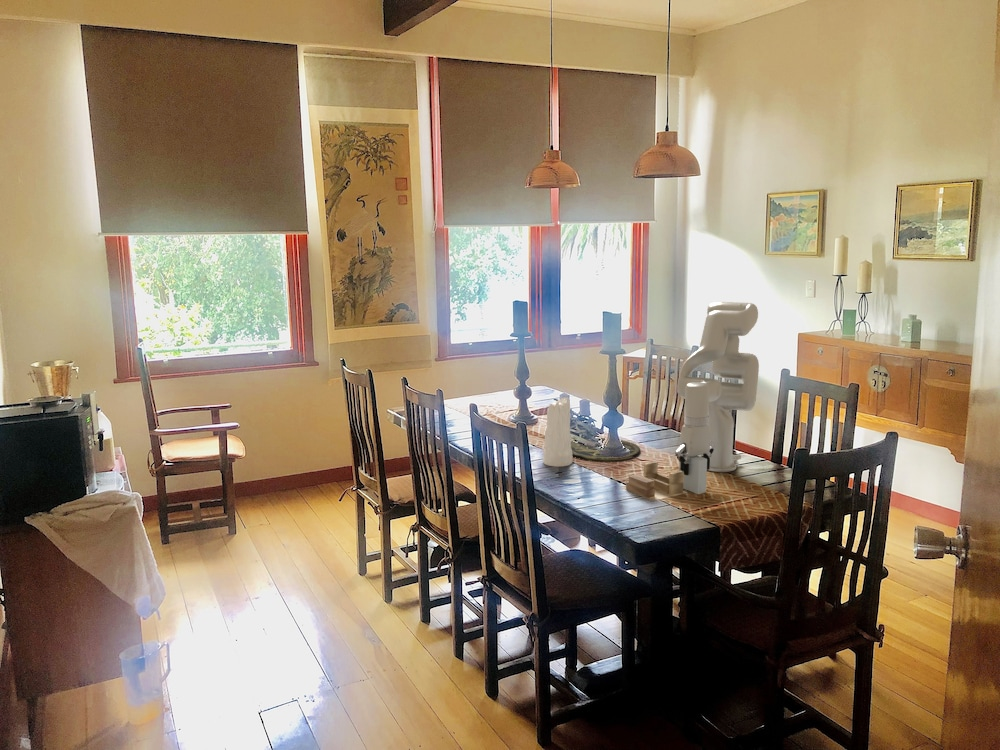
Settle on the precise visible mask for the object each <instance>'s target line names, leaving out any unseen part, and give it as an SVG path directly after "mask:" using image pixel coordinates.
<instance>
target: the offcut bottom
mask: <svg viewBox="0 0 1000 750" xmlns="http://www.w3.org/2000/svg"><path fill="white" fill-rule="evenodd" d="M625 483H626V484H625V486H626V491H627V492H630V493H632V492H633V494H635V495H637V494H638V495H637V496H640V497H642V498H644V497H645V499H647V498H649V497H654V496H655V489H654V488H653V489H649V490H645V489H642V488H639V487H636V486H633V485H631V484H629V481H626V482H625Z"/></svg>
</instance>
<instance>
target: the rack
mask: <svg viewBox="0 0 1000 750" xmlns="http://www.w3.org/2000/svg"><path fill="white" fill-rule="evenodd" d="M658 464H659V461H656V460H655V461H649V462H645V463H644V464H643V477H645V478H648V479H651V480H654V489H655V496H654V497H649V498H645V497H643V498H645V499H647V500H649V501H651V502H654V501H659V500H663V499H668V498H672V497H676V496H681V495H685V494H688V492H687V491H684V489H683V481H684V471H679V470H678V471H672V472H669V476H667V475H664V474H661V473H658V472H659V471H658V470H659V465H658ZM620 488H621V489H624V490H626V485H624V486H620ZM626 491H627V490H626ZM631 493H633V492H631ZM633 494H634V493H633ZM636 495H637V496H639V495H638V494H636Z"/></svg>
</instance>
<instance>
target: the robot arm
mask: <svg viewBox="0 0 1000 750" xmlns="http://www.w3.org/2000/svg"><path fill="white" fill-rule="evenodd" d="M706 313H707V316H706V318H705V321H704V325H703V326H704V327H703V330H702V335H701V341H700V343H699V344H700V345H699V347H698V349H697V350H696V351H694V352H693V353H692V354H691V355H690V356H688V358H686V360H685V361H684V363H683V364H682V366H681V367H680V372H679V374H678V375H679V376H678V379H677V386H676V392H677V394H678V397H680V398H681V399H684V420H683V421H684V424H683V425H682V427H681V432H680V436H679V447H677V449H676V450H675V451H674V454H675V456H676V459H677V460H678V463H679V462H680V471H684V475H688V474H689V464H688V463H687V462H688V461H689V459H690V457H693V456H701V457H703V458H706V459H707V471H710V472H715V473H717V472H718V473H728V472H734V471H735V470H736V469H737V464H735V461H739V460H741V459H742V455H741V454H733V446H734V430H735V429H734V428H735V421H734V417H733V415H732V414H731V412H730V411H729V410H733V411H743V412H744V411H745V412H747V411H752V410H753V409H754V408H755V405H756V400H757V391H758V380H759V371H760V369H759V367H760V365H759V359H758V357H757V356H756V355H755V354H753V353H748V352H739V347H740V337H745V336H746V335H748V334H749V333H750V332H751V331H752V329H753V328H754V327H755V326H756V324H757V322H758V318H759V310H758V307H757V305H756V304H754V303H752V302H733V301H715V302H712V303H710V304H709V305H708V306H707V312H706ZM709 363H712V366H711V369H712V374H713V375H714V377H717V378H720V379H730V380H741V381H742V382H743V383H741V382H740V383H739V382H730V381H729V382H728V381H719V380H718V379H715V378H707V377H700V376H697V377H696V376H691V375H692V373H693V372H694V371H695V370H696V369H697V368H699V367H700V366H704V365H707V364H709ZM686 453H688V454H686ZM681 454H682V455H681ZM685 456H686V458H685V459H684V457H685Z"/></svg>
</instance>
